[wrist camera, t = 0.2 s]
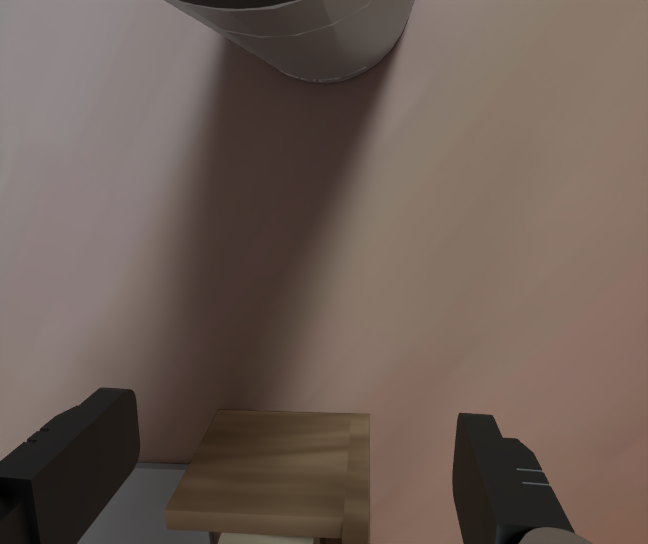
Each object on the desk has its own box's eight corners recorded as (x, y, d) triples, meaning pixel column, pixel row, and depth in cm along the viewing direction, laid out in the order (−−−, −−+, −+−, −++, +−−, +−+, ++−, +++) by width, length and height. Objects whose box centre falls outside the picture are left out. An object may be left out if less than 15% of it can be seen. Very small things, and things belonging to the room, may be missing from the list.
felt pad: (58, 459, 35) (52, 464, 35) (203, 464, 34) (201, 470, 34) (83, 576, 38) (79, 583, 38) (218, 585, 37) (215, 592, 37)
